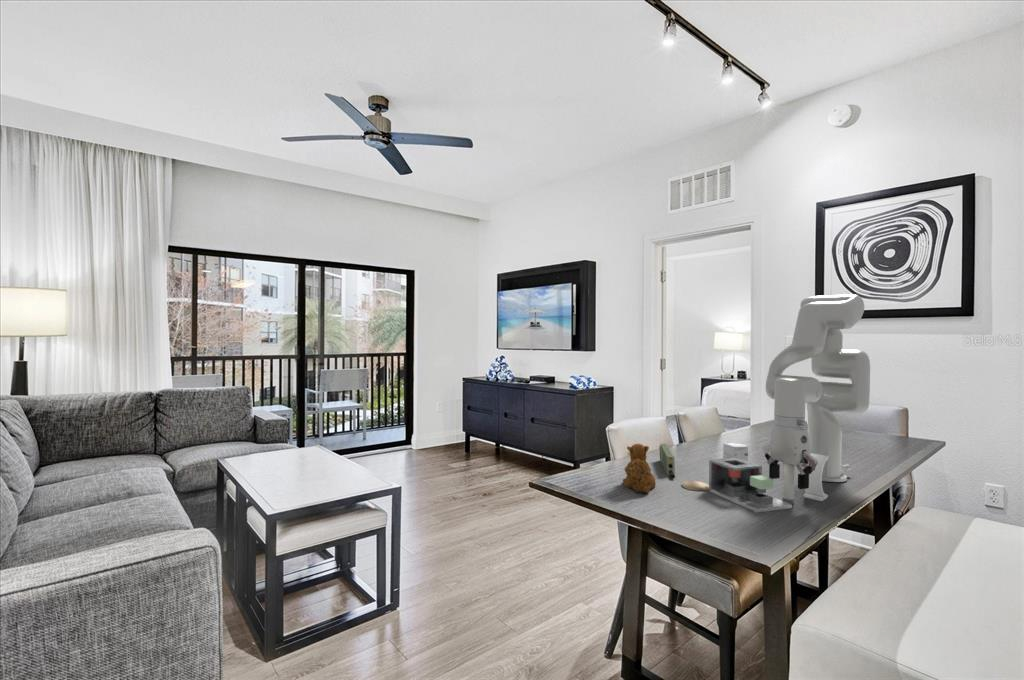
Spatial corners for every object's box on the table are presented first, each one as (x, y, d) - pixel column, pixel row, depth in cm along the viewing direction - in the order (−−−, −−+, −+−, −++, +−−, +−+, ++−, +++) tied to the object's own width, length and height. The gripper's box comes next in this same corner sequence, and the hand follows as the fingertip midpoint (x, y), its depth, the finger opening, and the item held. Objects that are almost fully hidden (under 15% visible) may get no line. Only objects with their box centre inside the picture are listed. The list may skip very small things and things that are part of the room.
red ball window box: (737, 486, 151) (737, 456, 151) (791, 508, 132) (792, 474, 132) (705, 489, 148) (705, 459, 148) (756, 512, 129) (756, 478, 129)
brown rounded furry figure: (654, 483, 154) (655, 441, 154) (658, 497, 140) (659, 452, 140) (622, 480, 156) (622, 439, 156) (622, 495, 142) (623, 450, 142)
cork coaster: (698, 481, 155) (698, 480, 155) (715, 489, 148) (715, 487, 148) (676, 484, 153) (676, 482, 153) (693, 491, 145) (693, 489, 145)
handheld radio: (668, 461, 182) (678, 480, 157) (659, 461, 182) (668, 480, 158) (668, 443, 182) (678, 460, 157) (659, 443, 182) (667, 460, 158)
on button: (761, 489, 137) (761, 475, 137) (772, 493, 133) (773, 479, 133) (749, 490, 136) (750, 476, 136) (761, 495, 132) (761, 480, 132)
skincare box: (733, 467, 173) (733, 446, 173) (722, 463, 179) (722, 443, 179) (748, 466, 175) (748, 446, 174) (736, 462, 180) (737, 442, 180)
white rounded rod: (788, 500, 139) (788, 458, 139) (796, 503, 136) (797, 460, 136) (780, 501, 138) (780, 458, 138) (788, 504, 135) (789, 461, 135)
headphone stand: (827, 497, 141) (828, 456, 141) (820, 502, 138) (821, 459, 137) (810, 493, 145) (810, 453, 145) (802, 497, 141) (803, 456, 141)
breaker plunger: (735, 479, 146) (735, 464, 146) (743, 482, 143) (743, 467, 143) (725, 480, 145) (726, 465, 145) (734, 483, 142) (734, 468, 142)
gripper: (827, 427, 130) (826, 491, 130) (774, 416, 146) (773, 473, 146) (805, 428, 127) (804, 494, 127) (754, 417, 144) (753, 475, 144)
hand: (788, 483), depth 137 cm, fingers open, 9 cm apart
